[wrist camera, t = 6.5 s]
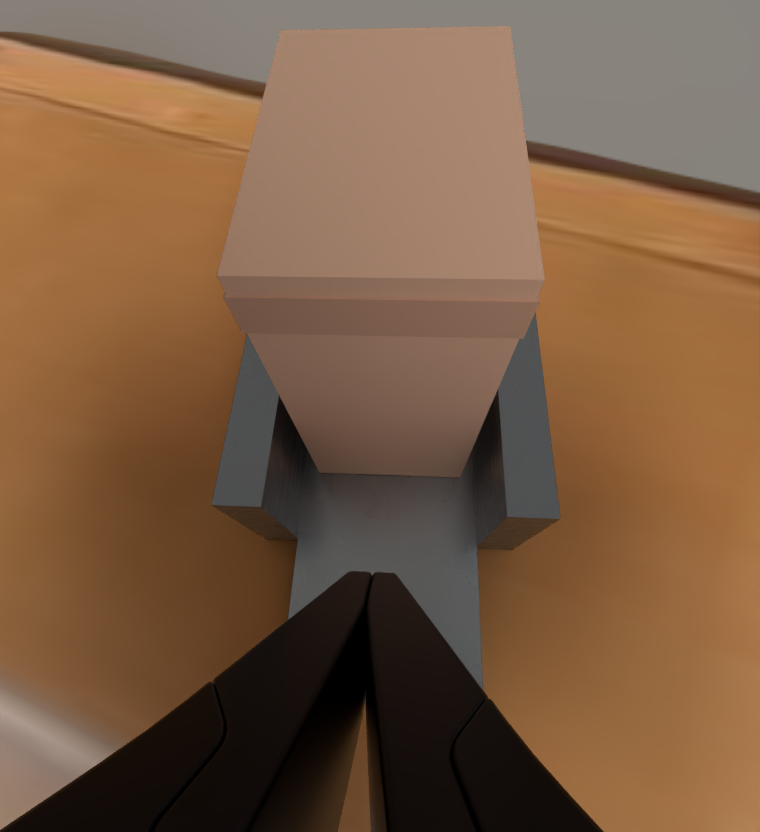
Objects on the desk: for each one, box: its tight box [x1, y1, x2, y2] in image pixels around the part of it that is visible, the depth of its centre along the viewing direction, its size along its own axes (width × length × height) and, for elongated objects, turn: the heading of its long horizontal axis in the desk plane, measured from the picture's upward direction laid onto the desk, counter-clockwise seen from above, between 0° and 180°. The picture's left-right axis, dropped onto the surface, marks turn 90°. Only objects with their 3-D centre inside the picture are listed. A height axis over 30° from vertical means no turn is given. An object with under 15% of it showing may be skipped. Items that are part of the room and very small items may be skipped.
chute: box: [212, 313, 560, 699], centre depth 14 cm, size 12×8×5 cm
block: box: [217, 26, 545, 478], centre depth 13 cm, size 7×5×10 cm
